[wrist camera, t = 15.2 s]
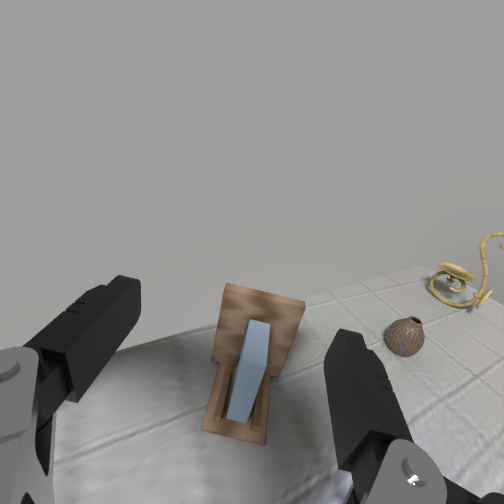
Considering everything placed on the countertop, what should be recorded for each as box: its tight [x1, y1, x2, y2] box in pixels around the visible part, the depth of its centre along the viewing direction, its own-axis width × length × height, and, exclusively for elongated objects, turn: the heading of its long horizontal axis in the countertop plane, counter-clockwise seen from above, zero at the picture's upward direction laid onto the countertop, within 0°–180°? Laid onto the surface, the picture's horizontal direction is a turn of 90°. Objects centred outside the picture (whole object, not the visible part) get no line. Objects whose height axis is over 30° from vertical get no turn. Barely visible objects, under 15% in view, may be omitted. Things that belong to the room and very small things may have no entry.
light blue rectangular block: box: [226, 319, 270, 424], centre depth 36 cm, size 3×7×13 cm, turn 172°
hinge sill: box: [201, 283, 306, 445], centre depth 36 cm, size 12×12×17 cm
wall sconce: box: [430, 232, 504, 309], centre depth 72 cm, size 14×10×25 cm
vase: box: [385, 316, 425, 356], centre depth 54 cm, size 7×7×9 cm
